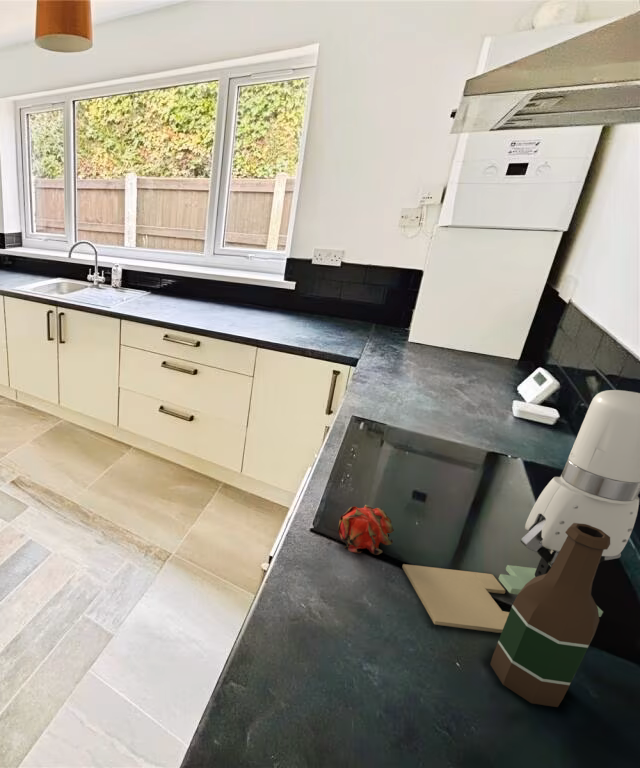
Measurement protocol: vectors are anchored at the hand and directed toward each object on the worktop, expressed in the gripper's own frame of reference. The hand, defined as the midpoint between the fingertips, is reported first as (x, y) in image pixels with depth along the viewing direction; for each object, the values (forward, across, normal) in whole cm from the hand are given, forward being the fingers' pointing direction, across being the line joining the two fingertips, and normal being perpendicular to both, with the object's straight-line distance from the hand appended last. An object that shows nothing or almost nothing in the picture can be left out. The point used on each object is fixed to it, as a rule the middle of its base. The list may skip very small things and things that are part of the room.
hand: (553, 583), depth 69 cm
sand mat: (+6, +11, 0) cm, 12 cm away
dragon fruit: (+6, +23, -11) cm, 26 cm away
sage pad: (+2, +1, 0) cm, 2 cm away
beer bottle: (+6, +10, +13) cm, 18 cm away
